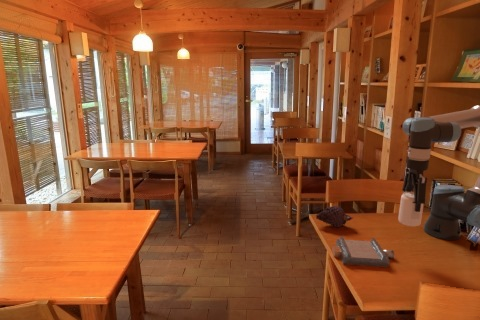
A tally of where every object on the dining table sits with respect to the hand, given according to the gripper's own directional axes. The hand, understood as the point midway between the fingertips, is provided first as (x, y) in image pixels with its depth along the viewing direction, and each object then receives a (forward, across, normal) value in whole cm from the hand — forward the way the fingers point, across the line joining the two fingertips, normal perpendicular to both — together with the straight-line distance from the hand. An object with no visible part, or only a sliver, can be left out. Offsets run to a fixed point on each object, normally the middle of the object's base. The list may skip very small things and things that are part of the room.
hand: (410, 214), depth 133 cm
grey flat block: (+18, +3, -18) cm, 26 cm away
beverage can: (+4, 0, 0) cm, 4 cm away
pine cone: (+18, -25, -24) cm, 39 cm away
